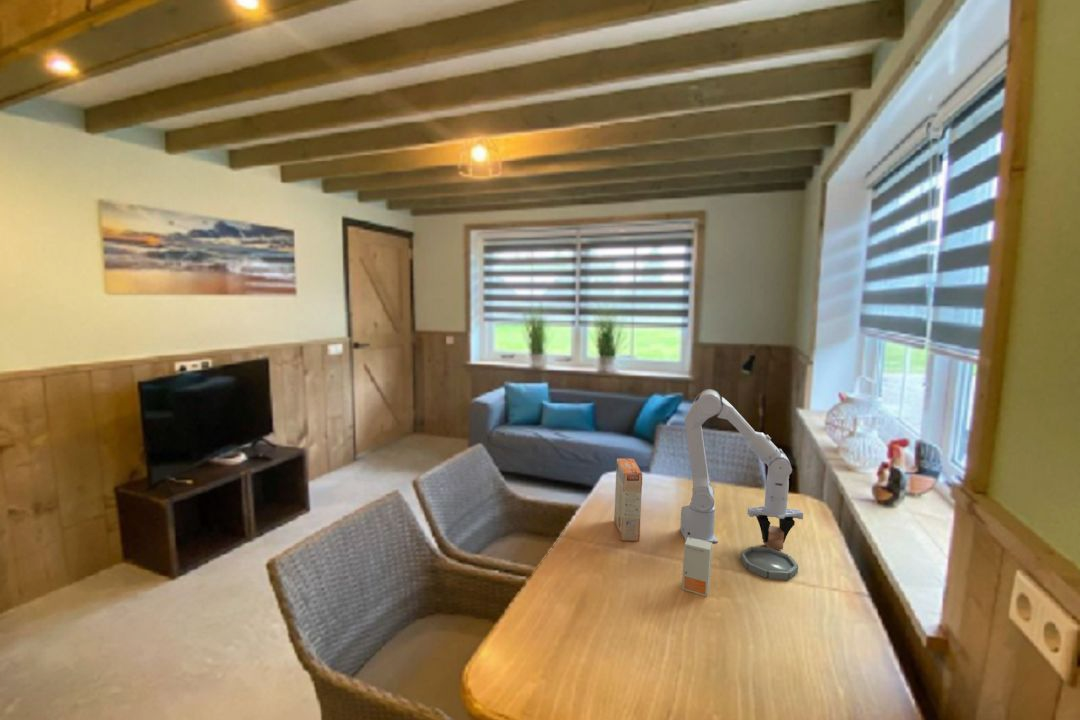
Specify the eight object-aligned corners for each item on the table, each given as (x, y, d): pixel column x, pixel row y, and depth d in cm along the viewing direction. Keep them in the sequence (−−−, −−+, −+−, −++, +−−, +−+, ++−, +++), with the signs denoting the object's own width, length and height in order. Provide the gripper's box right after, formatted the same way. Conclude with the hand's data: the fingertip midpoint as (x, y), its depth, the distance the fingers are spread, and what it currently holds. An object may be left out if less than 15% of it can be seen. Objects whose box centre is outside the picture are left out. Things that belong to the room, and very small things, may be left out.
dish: (751, 577, 121) (752, 571, 121) (735, 551, 134) (735, 545, 134) (804, 580, 120) (805, 574, 120) (783, 554, 133) (783, 548, 133)
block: (768, 548, 135) (769, 532, 134) (762, 541, 139) (764, 525, 138) (782, 549, 134) (784, 532, 134) (777, 542, 138) (778, 526, 138)
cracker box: (640, 542, 139) (643, 473, 137) (620, 541, 139) (622, 472, 137) (632, 520, 153) (634, 457, 151) (613, 520, 153) (615, 457, 151)
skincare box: (681, 590, 116) (683, 543, 114) (684, 581, 119) (687, 536, 118) (707, 597, 113) (710, 549, 112) (710, 588, 117) (712, 541, 115)
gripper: (755, 499, 132) (751, 546, 133) (809, 502, 130) (805, 549, 132) (746, 490, 138) (743, 534, 140) (798, 492, 137) (794, 537, 139)
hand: (773, 540), depth 136 cm, fingers closed on block, 4 cm apart
